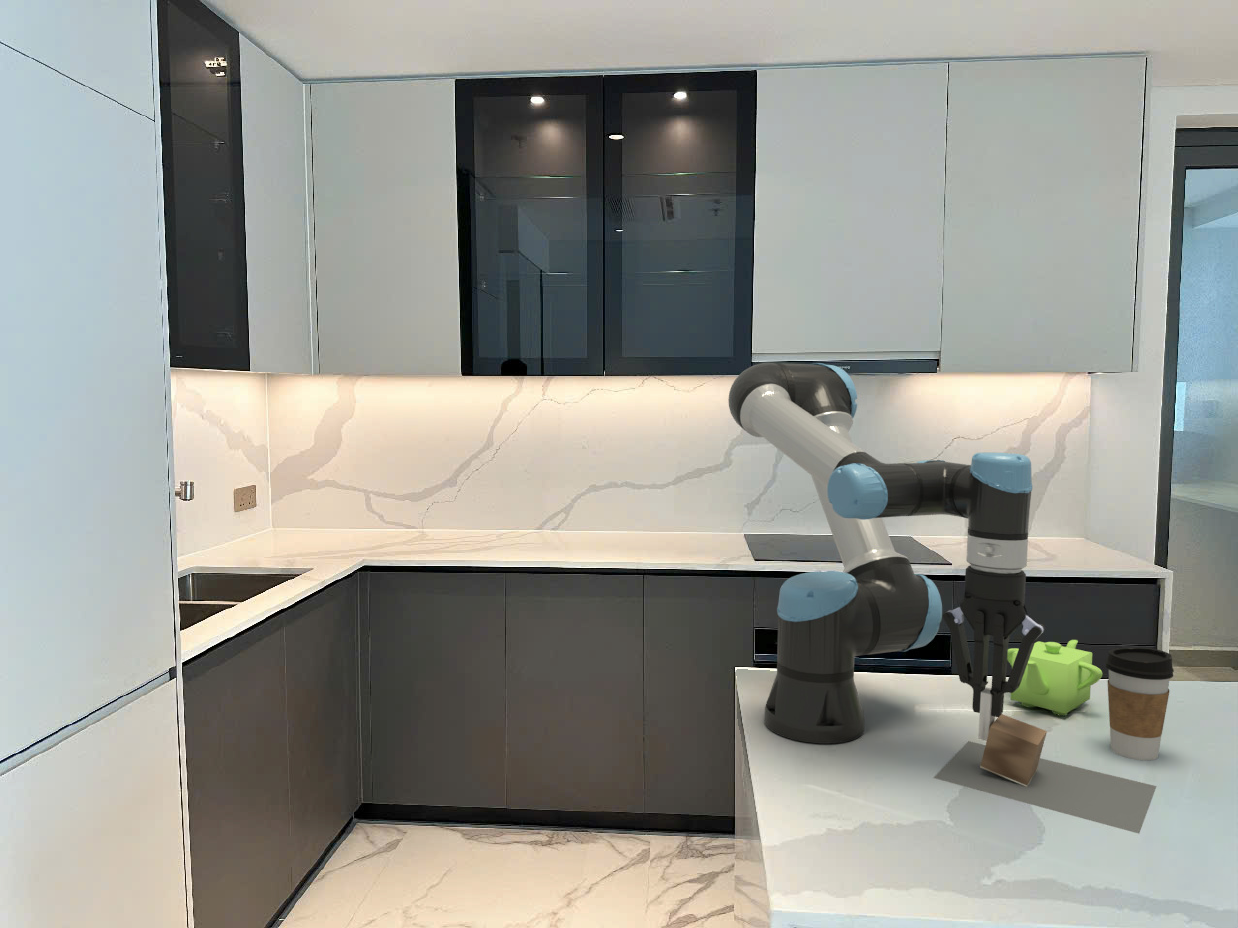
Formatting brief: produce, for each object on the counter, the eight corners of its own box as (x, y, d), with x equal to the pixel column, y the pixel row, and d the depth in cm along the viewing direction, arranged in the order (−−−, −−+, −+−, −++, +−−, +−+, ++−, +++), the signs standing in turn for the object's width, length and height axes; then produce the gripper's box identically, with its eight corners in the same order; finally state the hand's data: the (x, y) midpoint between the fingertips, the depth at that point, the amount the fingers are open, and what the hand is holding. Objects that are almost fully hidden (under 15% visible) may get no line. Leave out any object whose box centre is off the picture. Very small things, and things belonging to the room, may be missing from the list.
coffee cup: (1178, 768, 123) (1185, 662, 121) (1112, 763, 124) (1117, 658, 123) (1154, 744, 131) (1160, 645, 130) (1092, 739, 133) (1098, 642, 131)
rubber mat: (933, 779, 118) (933, 777, 118) (968, 742, 131) (968, 740, 131) (1139, 835, 104) (1139, 833, 104) (1156, 788, 116) (1156, 785, 116)
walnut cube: (979, 767, 119) (990, 726, 118) (990, 753, 124) (1001, 713, 123) (1026, 787, 116) (1037, 745, 115) (1036, 771, 121) (1047, 730, 120)
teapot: (1073, 692, 154) (1076, 632, 153) (1118, 720, 141) (1122, 655, 140) (986, 691, 154) (989, 631, 153) (1024, 720, 140) (1027, 655, 139)
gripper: (938, 564, 120) (929, 733, 122) (1040, 578, 112) (1029, 758, 114) (955, 557, 126) (947, 718, 128) (1053, 569, 118) (1043, 740, 120)
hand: (986, 736), depth 121 cm, fingers closed
